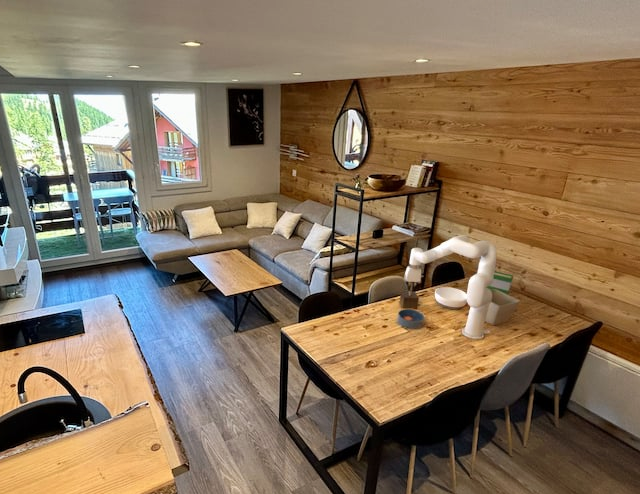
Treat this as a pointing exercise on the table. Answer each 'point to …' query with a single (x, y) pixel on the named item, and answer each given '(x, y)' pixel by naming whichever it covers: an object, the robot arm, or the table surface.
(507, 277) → the green and white carton
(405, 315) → the mixing bowl
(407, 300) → the stick holder
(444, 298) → the bowl
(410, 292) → the stick
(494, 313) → the flower pot
